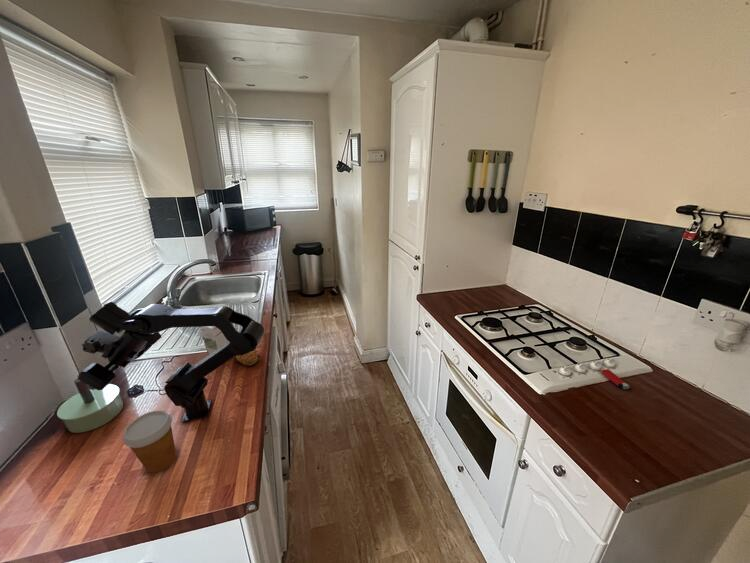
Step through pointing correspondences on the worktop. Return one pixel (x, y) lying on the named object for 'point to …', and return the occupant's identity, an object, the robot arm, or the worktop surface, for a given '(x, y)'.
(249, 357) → the pastry
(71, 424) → the pot
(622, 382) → the lighter
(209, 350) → the syrup box
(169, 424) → the disposable coffee cup
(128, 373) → the worktop surface
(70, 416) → the lid
